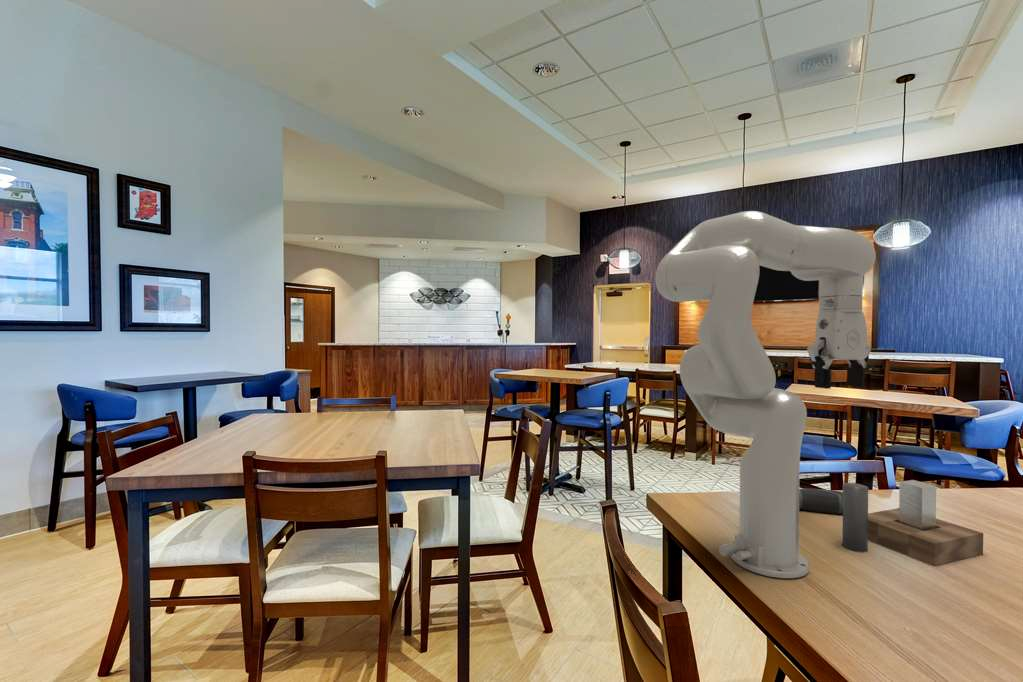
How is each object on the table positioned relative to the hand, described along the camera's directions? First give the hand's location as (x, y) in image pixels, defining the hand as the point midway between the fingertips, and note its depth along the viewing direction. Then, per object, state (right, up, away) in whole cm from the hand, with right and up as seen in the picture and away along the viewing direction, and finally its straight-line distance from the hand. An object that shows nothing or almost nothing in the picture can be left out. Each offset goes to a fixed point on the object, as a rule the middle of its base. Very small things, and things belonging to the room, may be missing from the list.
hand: (839, 387), depth 100 cm
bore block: (+11, -30, -6) cm, 33 cm away
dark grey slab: (-1, -31, +10) cm, 32 cm away
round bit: (-2, -30, -8) cm, 31 cm away
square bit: (+11, -30, -7) cm, 33 cm away
